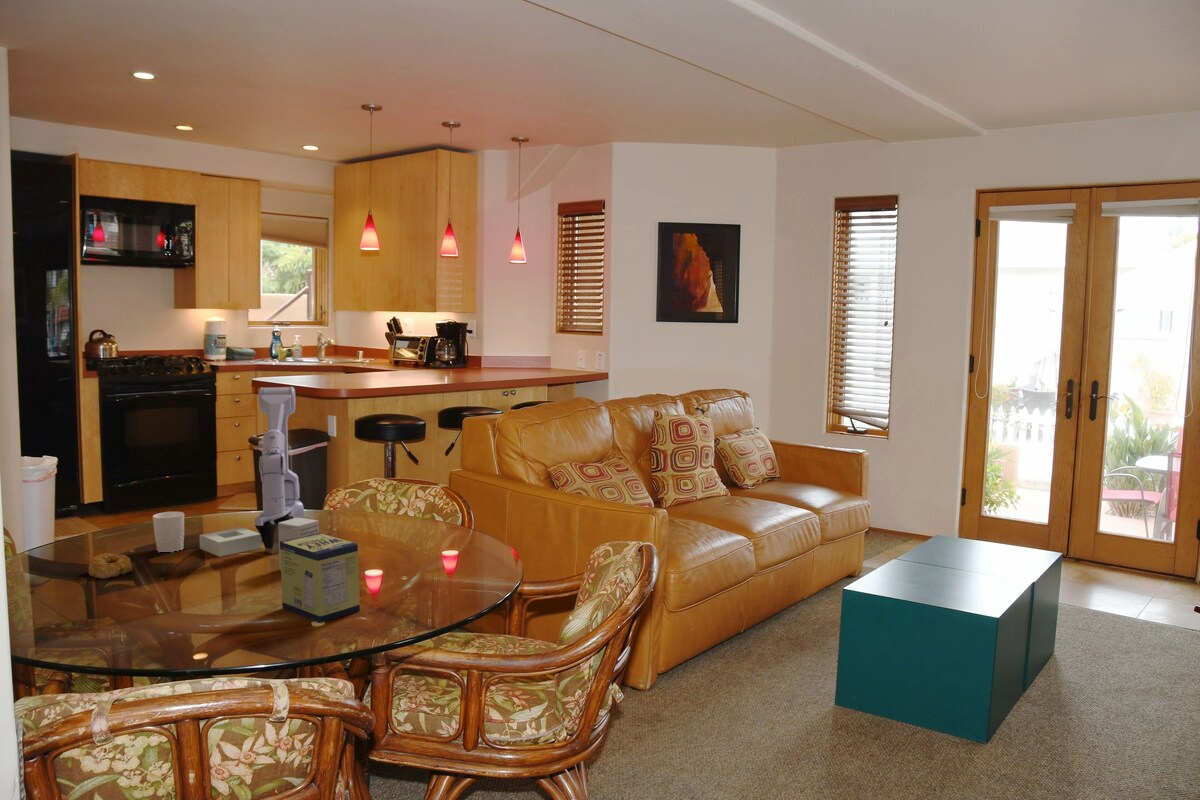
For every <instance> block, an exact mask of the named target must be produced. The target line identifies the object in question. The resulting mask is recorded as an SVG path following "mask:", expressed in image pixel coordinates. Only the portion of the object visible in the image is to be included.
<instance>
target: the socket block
mask: <svg viewBox="0 0 1200 800" xmlns="http://www.w3.org/2000/svg"><path fill="white" fill-rule="evenodd" d="M262 543H263V541H262V537H261V535H260V533H259V532H256V531H253V530H251V529H247V528H245V527H242V526H238V527H233V528H228V529H223V530H218V531H214V532H208V533H202V534H199V549H200V550H202V551H205V552H207V553H210V554H211V555H214V556H217V557H219V558H221V557H225V556H230V555H235V554H241V553H245V552H249V551H254V550H259V549H262V548H263V546H262V545H263V544H262Z"/></svg>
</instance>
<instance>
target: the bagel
mask: <svg viewBox="0 0 1200 800" xmlns="http://www.w3.org/2000/svg"><path fill="white" fill-rule="evenodd" d="M129 571H131V572H133V565H132V560H131V558H130V557H129V556H127V555H126V554H119V553H112V552H110V553H109V552H108V553H107V552H104V553H101V554H98V555H96V556H94V557H92V559H91V560H90V563H89V565H88V574H89V575H90V577H93V578H97V579H101V580H107V579H110V577H112V578H115V577H119V576H120V574H123V575H125V574H124V573H126V574H128V573H130V572H129ZM127 572H128V573H127ZM118 575H119V576H118ZM106 578H107V579H106Z"/></svg>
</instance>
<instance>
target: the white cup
mask: <svg viewBox="0 0 1200 800" xmlns="http://www.w3.org/2000/svg"><path fill="white" fill-rule="evenodd" d="M152 520H153V521H152V522H153V531H154V539H155V544H156V551H158V552H157V553H160V552H171V553H175V552H174V551H177V552H179V550H181V551H182V550H183V549H184V540H185V513H184V511H183V512H182V511H165V512H159V513H155V514H153V515H152Z"/></svg>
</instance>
